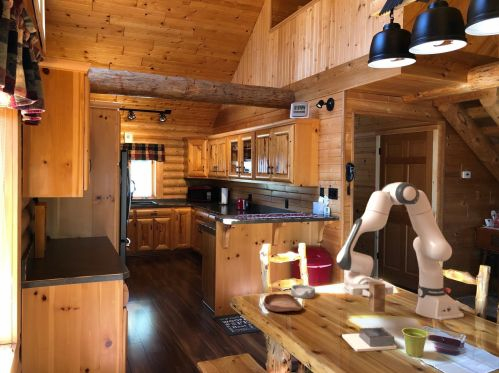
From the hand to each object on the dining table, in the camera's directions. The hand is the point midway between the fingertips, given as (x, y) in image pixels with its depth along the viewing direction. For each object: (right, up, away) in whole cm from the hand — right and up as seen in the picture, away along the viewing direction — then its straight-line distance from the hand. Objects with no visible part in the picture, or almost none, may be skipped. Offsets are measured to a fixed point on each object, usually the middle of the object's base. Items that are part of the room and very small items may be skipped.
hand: (377, 294), depth 176 cm
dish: (-25, -17, +60) cm, 67 cm away
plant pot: (+9, -19, -17) cm, 27 cm away
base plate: (-6, -18, -7) cm, 20 cm away
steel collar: (-3, -18, -7) cm, 20 cm away
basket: (-38, -17, +37) cm, 56 cm away
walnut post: (0, -7, +1) cm, 7 cm away
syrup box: (+5, -17, +67) cm, 69 cm away
